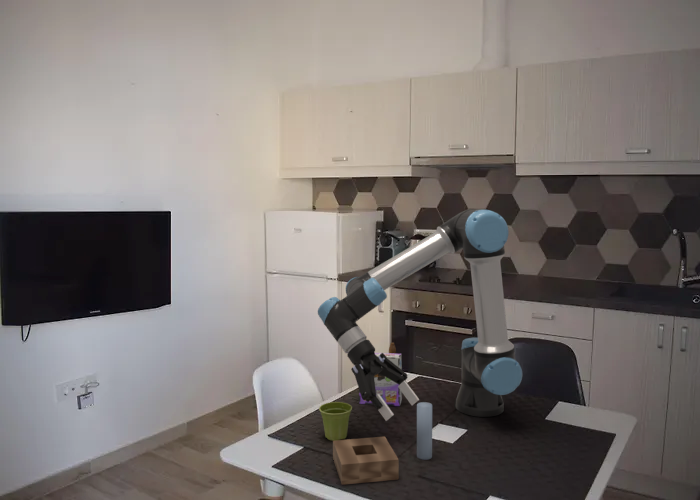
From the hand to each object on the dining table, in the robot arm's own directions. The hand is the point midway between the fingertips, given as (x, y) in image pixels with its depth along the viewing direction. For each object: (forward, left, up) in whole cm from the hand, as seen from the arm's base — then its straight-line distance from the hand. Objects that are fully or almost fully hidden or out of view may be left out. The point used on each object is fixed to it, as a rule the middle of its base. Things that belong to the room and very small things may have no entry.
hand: (403, 410), depth 157 cm
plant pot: (+16, -13, -12) cm, 24 cm away
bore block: (+12, +8, -12) cm, 18 cm away
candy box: (-3, -38, -12) cm, 40 cm away
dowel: (-5, +4, -12) cm, 13 cm away
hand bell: (-11, -54, -12) cm, 57 cm away
